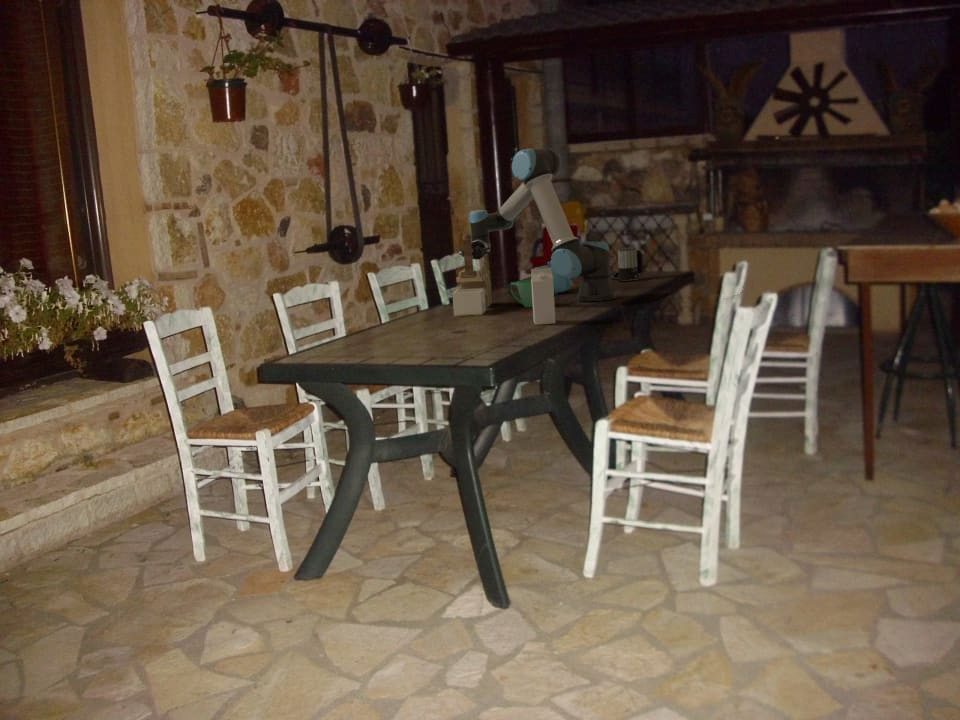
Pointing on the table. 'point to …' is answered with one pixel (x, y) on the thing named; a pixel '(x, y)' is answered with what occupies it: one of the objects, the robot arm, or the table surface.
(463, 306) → the beige cardboard cube
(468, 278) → the launcher
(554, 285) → the decorative pot
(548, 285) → the milk carton
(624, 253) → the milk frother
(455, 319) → the table surface
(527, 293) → the mug
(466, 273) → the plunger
